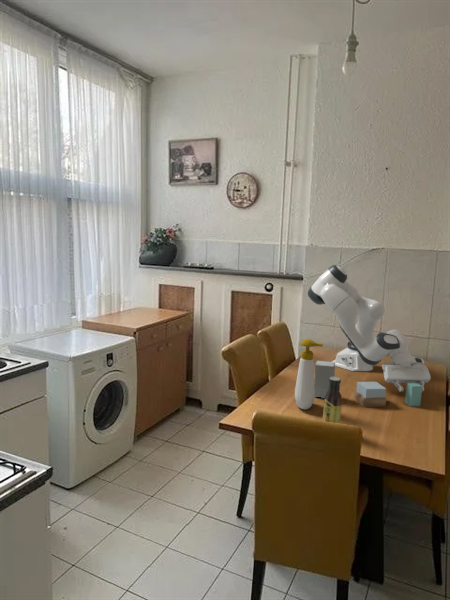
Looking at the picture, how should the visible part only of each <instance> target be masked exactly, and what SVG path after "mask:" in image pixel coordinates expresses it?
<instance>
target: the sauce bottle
mask: <svg viewBox="0 0 450 600" xmlns="http://www.w3.org/2000/svg"><path fill="white" fill-rule="evenodd" d="M329 382H330V383H329V389H328V391H327V394H326V396H325V399H324V398H323V399H324V401H323V411H322V412H323V413H322V421H326V422H333V423H340V422H341V415H342V413H341V412H342V394H341V392H340V386H341V382H342V380H341V378H340V377H337V376H334V377H330V378H329Z"/></svg>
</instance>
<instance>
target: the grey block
mask: <svg viewBox="0 0 450 600" xmlns="http://www.w3.org/2000/svg"><path fill="white" fill-rule="evenodd" d="M355 390H356V391H358V392H359V393H360V394H361V395H362V396H364V397H365V398H386V396H387V393H386V392H387V388H386V387H385V386H383V385H381V384H380V383H379V382H377V381H357V382H356V389H355Z"/></svg>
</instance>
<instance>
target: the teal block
mask: <svg viewBox="0 0 450 600" xmlns="http://www.w3.org/2000/svg"><path fill="white" fill-rule="evenodd" d="M422 393H423V392H422V386H421V385H419V383H406V387H405V399H404V403H405V404H407V405H408V406H409V407H421V401H422Z"/></svg>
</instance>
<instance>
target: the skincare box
mask: <svg viewBox="0 0 450 600" xmlns="http://www.w3.org/2000/svg"><path fill="white" fill-rule="evenodd" d="M335 370H336V366H335V362H332V361H324V360H316V362H315V363H314V379H315V397H321V398H320V399H324V398H325V396H326V394H327V391H328V389H329V383H330V382H329V378H330V377H336V376H335Z"/></svg>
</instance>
